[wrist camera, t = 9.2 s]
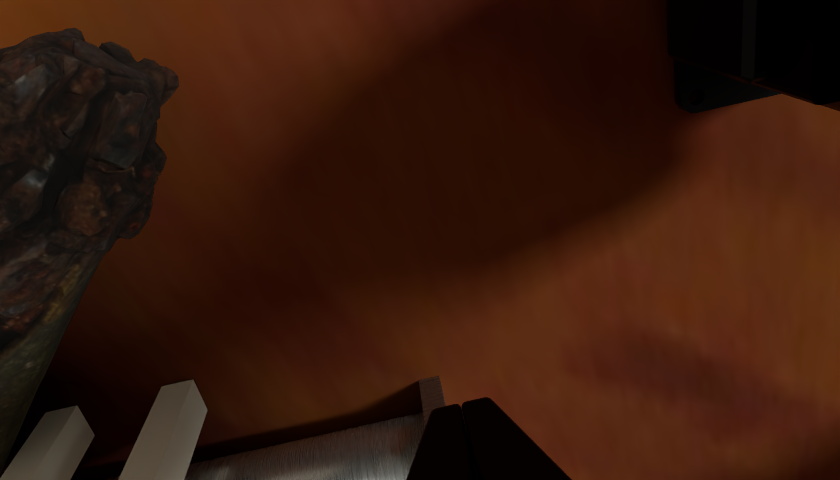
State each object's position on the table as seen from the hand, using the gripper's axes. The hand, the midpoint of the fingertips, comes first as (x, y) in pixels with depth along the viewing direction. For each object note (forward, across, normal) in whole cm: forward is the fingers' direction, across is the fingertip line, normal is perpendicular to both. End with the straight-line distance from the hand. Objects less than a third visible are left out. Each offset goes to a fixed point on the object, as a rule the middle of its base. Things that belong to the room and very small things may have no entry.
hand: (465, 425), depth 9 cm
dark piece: (+12, +14, 0) cm, 18 cm away
